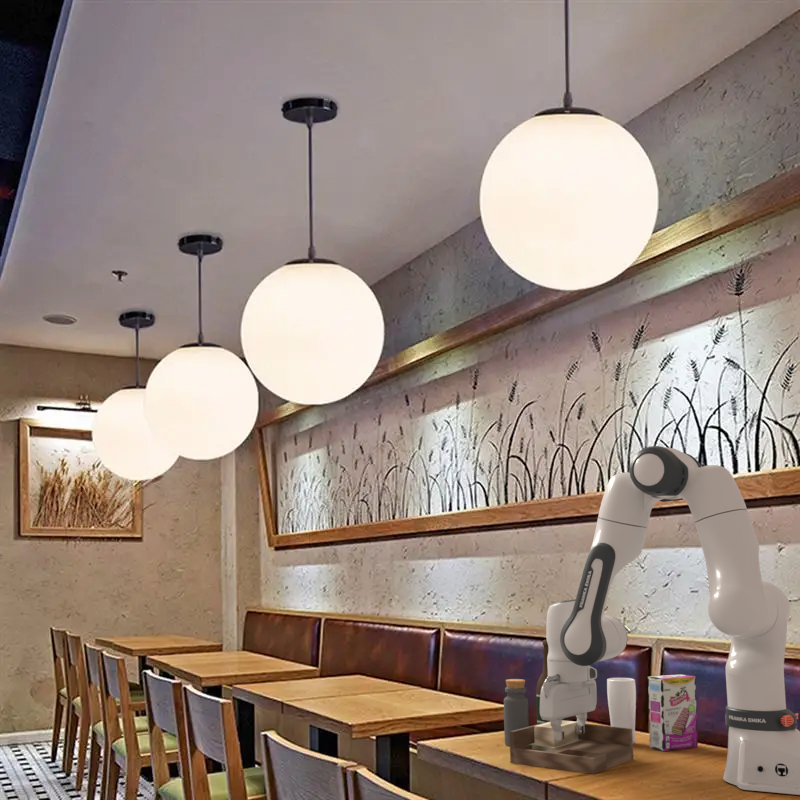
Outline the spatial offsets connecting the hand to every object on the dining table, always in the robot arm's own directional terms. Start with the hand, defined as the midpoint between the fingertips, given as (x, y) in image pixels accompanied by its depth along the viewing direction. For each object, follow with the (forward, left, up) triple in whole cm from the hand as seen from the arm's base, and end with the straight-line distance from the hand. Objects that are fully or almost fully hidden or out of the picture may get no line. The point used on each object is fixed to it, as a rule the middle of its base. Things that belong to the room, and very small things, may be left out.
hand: (569, 736), depth 220 cm
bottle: (+18, -7, -5) cm, 20 cm away
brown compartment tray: (-2, +3, -5) cm, 6 cm away
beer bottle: (+14, -17, -5) cm, 23 cm away
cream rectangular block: (+3, 0, -2) cm, 4 cm away
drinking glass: (-2, -23, -5) cm, 24 cm away
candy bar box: (-14, -25, -5) cm, 29 cm away
